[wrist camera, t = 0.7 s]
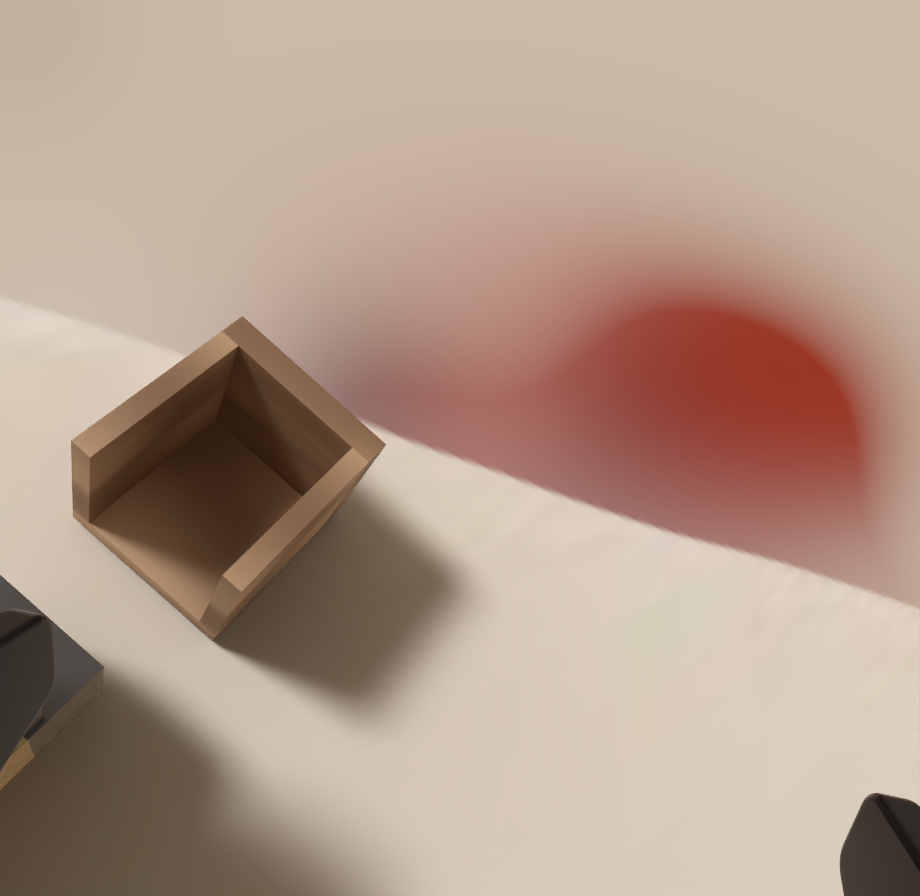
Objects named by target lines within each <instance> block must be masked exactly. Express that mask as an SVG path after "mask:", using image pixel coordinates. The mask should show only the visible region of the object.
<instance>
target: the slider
mask: <svg viewBox="0 0 920 896" xmlns="http://www.w3.org/2000/svg"><path fill="white" fill-rule="evenodd" d="M9 609H20V610H25V611H29V612H34V613H39V614H43V615H45V614H44V613H42V612H41V611H40V610H39V609H38V608H37V607H36V606H35V605H33V604H32V603H31V602H30V601H29V600H28V599H27V598H26V597H24V596H23V595H22V594H21V593H20V592H19V591H18V590H16V589H15V588H14V587H13V586H12V585H11V584H10V583H9V582H7V581H6V580H5V579H4V578H3V577H2V576H1V575H0V612H3V611H5V610H9ZM45 616H46V615H45ZM46 617H47V616H46ZM50 621H51V620H50ZM51 623H52V628H53V642H54V656H55V669H56V675H55V682H54V685H53V689H52V691H51V693H50V695H49V697H48V699H47V700H46V702H45V703H44V705H43V706H42V708H41V710H40V711H39V713H38V714H37V716H36V717H35V719H34V720H33V722H32V724H31V725H30V727H29V728H28V730H27V731H26V733H25V735H24V736H23V738H22V739H21V741H20V742H19V744H18V745H17V747H16V749H15V750H14V752H13V753H12V755H11V756H10V758H9V759H8V761H7V763H6V764H5V766H4V767H3V769H2V770H1V772H0V790H1V789H2V788H3V787H4V786H5V785H6V784H7V783H8V782H9V781H10V780H11V779H12V778H13V777H14V776H15V775H16V774H17V773H18V772H19V771H20V770H21V769H22V768H23V767H24V766H25V765H26V764H27V763H28V762H29V761H30V760H31V759H32V758H33V757H35V756H36V755H37V754H38V753H39V752H40V751H41V750H42V749H43V748H44V747H45V746H46V745H47V744H48V743H49V742H50V741H51V740H52V739H53V738H54V737H55V736H56V735H57V734H58V733H59V732H60V731H61V730H62V729H63V728H64V727H65V726H66V725H67V724H68V723H69V722H70V721H71V720H72V719H73V718H74V717H75V716H76V715H77V714H78V713H79V712H80V711H82V710H83V709H84V708H85V707H86V706H87V705H88V704H89V703H90V702H91V701H92V700H93V699H94V698H95V697H96V696H97V695H98V694H99V693H100V692H101V690H102V681H103V672H104V667H103V666H102V665H101V664H100V663H99V662H98V661H96V660H95V659H94V658H93V657H92V656H91V655H90V654H89V653H87V652H86V651H85V650H84V649H83V648H82V647H81V646H80V645H78V644H77V643H76V642H75V641H74V640H73V639H72V638H71V637H69V636H68V635H67V634H66V633H65V632H64V631H63V630H62V629H60V628H59V627H58V626H57V625H56V624H55V623H54V622H53V621H51Z"/></svg>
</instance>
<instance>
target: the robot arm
mask: <svg viewBox="0 0 920 896" xmlns="http://www.w3.org/2000/svg"><path fill="white" fill-rule="evenodd" d="M55 675H56V669H55V656H54V642H53V628H52V623H51V621H50V619H49V618H48V617H46V616H45V615H43V614H39V613H34V612H29V611H25V610H20V609H9V610H5V611H3V612H0V772H1V770H2V769H3V767H4V766H5V764H6V763H7V761H8V759H9V758H10V756H11V755H12V753H13V752H14V750H15V749H16V747H17V745H18V744H19V742H20V741H21V739H22V738H23V736H24V735H25V733H26V731H27V730H28V728H29V727H30V725H31V724H32V722H33V720H34V719H35V717H36V716H37V714H38V713H39V711H40V710H41V708H42V706H43V705H44V703H45V702H46V700H47V699H48V697H49V695H50V693H51V691H52V689H53V685H54V682H55ZM840 874H841V880H842V886H843V892H844V896H920V806H918V805H917V804H916V803H914V802H913V801H910V800H908V799H904V798H899V797H894V796H890V795H885V794H880V793H873V794H870V795H868V796H867V797H866V798H865V800H864V801H863V803H862V805H861V807H860V809H859V811H858V814H857V816H856V818H855V820H854V822H853V825H852V827H851V829H850V831H849V833H848V836H847V838H846V840H845V842H844V844H843V847H842V850H841V855H840Z"/></svg>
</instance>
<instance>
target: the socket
mask: <svg viewBox="0 0 920 896" xmlns="http://www.w3.org/2000/svg"><path fill="white" fill-rule="evenodd" d="M385 445H386V444H385V443H384V442H383V441H381V440H380V439H379V438H378V437H377V436H376V435H375V434H374V433H373V432H371V431H370V430H369V429H368V428H367V427H366V426H365V425H364V424H362V423H361V422H360V421H359V420H358V419H357V418H356V417H355V416H353V415H352V414H351V413H350V412H349V411H348V410H346V408H345V407H343V406H342V405H341V404H340V403H339V402H338V401H337V400H336V399H334V398H333V397H332V396H331V395H330V394H329V393H328V392H327V391H326V390H324V389H323V388H322V387H321V386H320V385H319V384H318V383H317V382H315V381H314V380H313V379H312V378H311V377H310V376H309V375H308V374H306V373H305V372H304V371H303V370H302V369H301V368H300V367H299V366H297V365H296V364H295V363H294V362H293V361H292V360H291V359H289V357H287V356H286V355H285V354H284V353H283V352H282V351H281V350H280V349H278V348H277V347H276V346H275V345H274V344H273V343H272V342H271V341H270V340H268V339H267V338H266V337H265V336H264V335H263V334H262V333H261V332H259V331H258V330H257V329H256V328H255V327H254V326H253V325H252V324H251V323H249V322H248V321H247V320H246V319H245V318H244V317H241V318H239V319H238V320H237V321H235V322H234V323H233V324H231V325H230V326H229V327H227V328H226V329H224V330H223V331H222V332H220V333H219V334H217V335H216V336H215V337H213V338H212V339H211V340H209V341H208V342H207V343H205V344H204V345H202V346H201V347H200V348H198V349H197V350H195V351H194V352H193V353H191V354H190V355H189V356H187V357H186V358H184V359H183V360H182V361H180V362H179V363H177V364H176V365H175V366H173V367H172V368H171V369H169V370H168V371H166V372H165V373H164V374H162V375H161V376H160V377H158V378H157V379H155V380H154V381H153V382H151V383H150V384H149V385H147V386H146V387H144V388H143V389H142V390H140V391H139V392H138V393H136V394H135V395H133V396H132V397H131V398H129V399H128V400H126V401H125V402H124V403H122V404H121V405H120V406H118V407H117V408H115V409H114V410H113V411H111V412H110V413H109V414H107V415H106V416H104V417H103V418H102V419H100V420H99V421H98V422H96V423H95V424H93V425H92V426H91V427H89V428H88V429H87V430H85V431H84V432H82V433H81V434H80V435H78V436H77V437H76V438H74V439H73V440H71V454H72V493H73V517H74V518H75V519H76V520H77V521H79V522H80V523H81V524H82V525H83V526H84V527H85V528H86V529H88V530H89V531H90V532H91V533H92V534H93V535H94V536H95V537H97V538H98V539H99V540H100V541H101V542H102V543H103V544H104V545H106V546H107V547H108V548H109V549H110V550H111V551H112V552H113V553H115V554H116V555H117V556H118V557H119V558H120V559H121V560H122V561H124V562H125V563H126V564H127V565H128V566H129V567H130V568H131V569H133V570H134V571H135V572H136V573H137V574H138V575H139V576H140V577H142V578H143V579H144V580H145V581H146V582H147V583H148V584H149V585H150V586H152V587H153V588H154V589H155V590H156V591H157V592H158V593H159V594H161V595H162V596H163V597H164V598H165V599H166V600H167V601H168V602H170V603H171V604H172V605H173V606H174V607H175V608H176V609H177V610H179V611H180V612H181V613H182V614H183V615H184V616H185V617H186V618H188V619H189V620H190V621H191V622H192V623H193V624H194V625H195V626H197V627H198V628H199V629H200V630H201V631H202V632H203V633H204V634H206V635H207V636H208V637H209V638H210V639H211V640H212V641H213V640H214V639H215V638H216V637H217V636H218V635H219V634H220V633H221V631H222V630H223V629H224V628H225V627H226V626H227V625H228V624H229V623H230V622H231V621H232V620H233V619H234V618H235V617H236V616H237V615H238V614H239V613H240V612H241V611H242V610H243V609H244V608H245V607H246V606H247V604H248V603H249V602H250V601H251V600H252V599H253V598H254V597H255V596H256V595H257V594H258V593H259V592H260V591H261V590H262V589H263V588H264V587H265V586H266V585H267V584H268V583H269V582H270V581H271V580H272V578H273V577H274V576H275V575H276V574H277V573H278V572H279V571H280V570H281V569H282V568H283V567H284V566H285V565H286V564H287V563H288V562H289V561H290V560H291V559H292V558H293V557H294V556H295V555H296V554H297V553H298V551H299V550H300V549H301V548H302V547H303V546H304V545H305V544H306V543H307V542H308V541H309V540H310V539H311V538H312V537H313V536H314V535H315V534H316V533H317V532H318V531H319V530H320V529H321V528H322V527H323V525H324V524H325V523H326V522H327V521H328V520H329V519H330V518H331V517H332V516H333V515H334V514H335V513H336V512H337V511H338V510H339V509H340V507H341V506H342V504H343V503H344V502H345V500H346V499H347V498H348V496H349V495H350V493H351V492H352V491H353V489H354V488H355V486H356V485H357V484H358V482H359V481H360V480H361V478H362V477H363V475H364V474H365V473H366V471H367V470H368V469H369V467H370V466H371V464H372V463H373V462H374V460H375V459H376V458H377V456H378V455H379V453H380V452H381V451H382V449H383V448H384V447H385Z"/></svg>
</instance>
